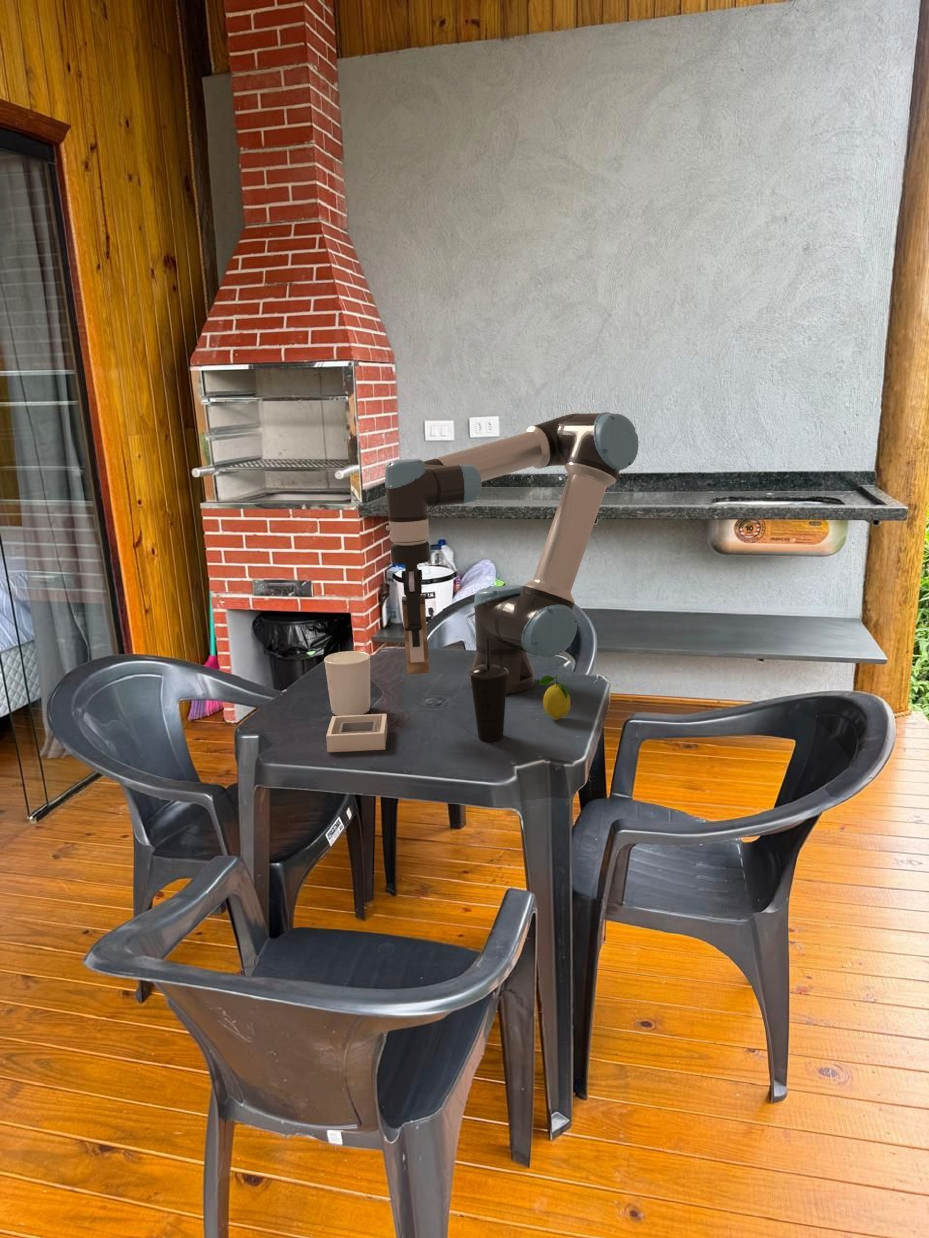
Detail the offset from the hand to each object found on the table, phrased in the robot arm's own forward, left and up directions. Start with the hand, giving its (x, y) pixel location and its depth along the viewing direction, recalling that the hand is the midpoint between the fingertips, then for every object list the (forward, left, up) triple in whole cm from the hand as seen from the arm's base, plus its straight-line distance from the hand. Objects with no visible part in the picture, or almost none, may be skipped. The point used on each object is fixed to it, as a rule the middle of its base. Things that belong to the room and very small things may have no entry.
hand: (417, 658), depth 175 cm
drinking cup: (-14, +6, -15) cm, 21 cm away
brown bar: (0, 0, -3) cm, 3 cm away
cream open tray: (+12, +4, -15) cm, 20 cm away
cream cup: (+15, -14, -15) cm, 26 cm away
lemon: (-28, -2, -15) cm, 32 cm away
